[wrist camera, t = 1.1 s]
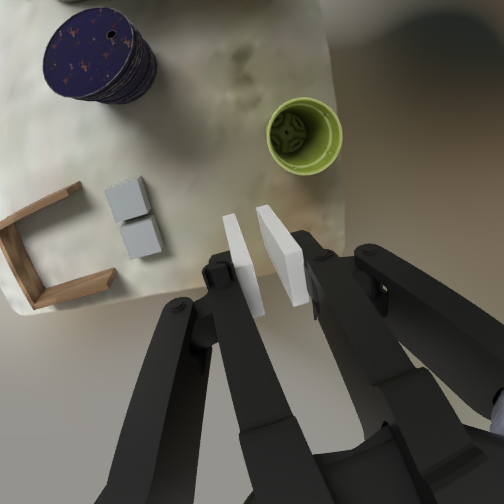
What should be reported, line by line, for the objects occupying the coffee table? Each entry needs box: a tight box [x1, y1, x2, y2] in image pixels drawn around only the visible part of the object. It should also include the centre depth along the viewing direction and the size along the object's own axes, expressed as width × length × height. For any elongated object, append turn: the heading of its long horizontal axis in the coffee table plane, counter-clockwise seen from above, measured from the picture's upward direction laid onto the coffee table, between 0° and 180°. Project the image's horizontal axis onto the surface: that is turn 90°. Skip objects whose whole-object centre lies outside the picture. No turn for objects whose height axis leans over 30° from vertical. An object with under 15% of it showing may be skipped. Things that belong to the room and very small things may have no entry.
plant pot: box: [265, 97, 342, 175], centre depth 35 cm, size 9×9×9 cm
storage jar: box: [43, 7, 157, 104], centre depth 24 cm, size 10×10×15 cm
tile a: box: [105, 176, 151, 223], centre depth 38 cm, size 5×5×3 cm
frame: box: [0, 181, 117, 310], centre depth 37 cm, size 16×17×5 cm
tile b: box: [119, 214, 164, 260], centre depth 41 cm, size 5×5×3 cm
